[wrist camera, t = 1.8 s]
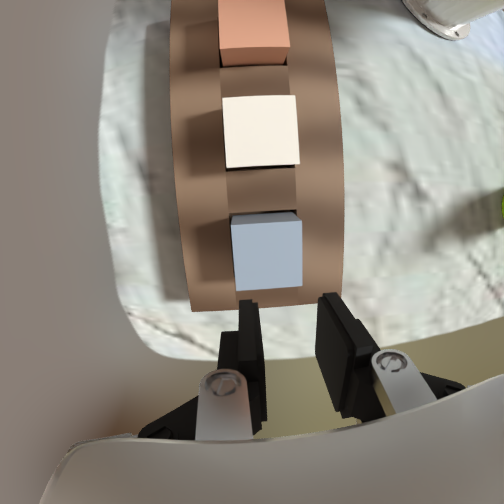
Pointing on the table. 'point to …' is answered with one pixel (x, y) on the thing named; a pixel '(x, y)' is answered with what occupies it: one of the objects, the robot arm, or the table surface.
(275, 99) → the ivory key
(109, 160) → the table surface
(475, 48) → the table surface
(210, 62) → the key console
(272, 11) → the terracotta key
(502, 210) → the soap dispenser
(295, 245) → the slate key
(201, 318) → the table surface
